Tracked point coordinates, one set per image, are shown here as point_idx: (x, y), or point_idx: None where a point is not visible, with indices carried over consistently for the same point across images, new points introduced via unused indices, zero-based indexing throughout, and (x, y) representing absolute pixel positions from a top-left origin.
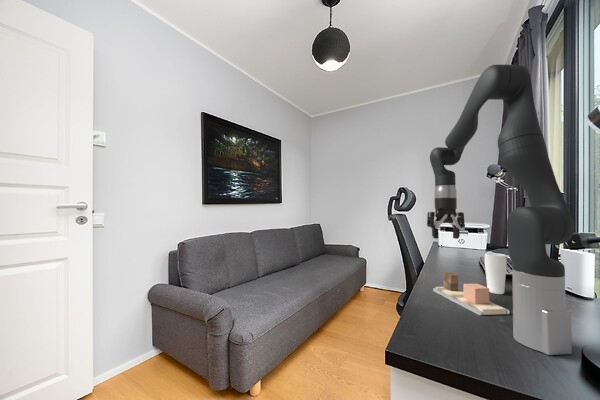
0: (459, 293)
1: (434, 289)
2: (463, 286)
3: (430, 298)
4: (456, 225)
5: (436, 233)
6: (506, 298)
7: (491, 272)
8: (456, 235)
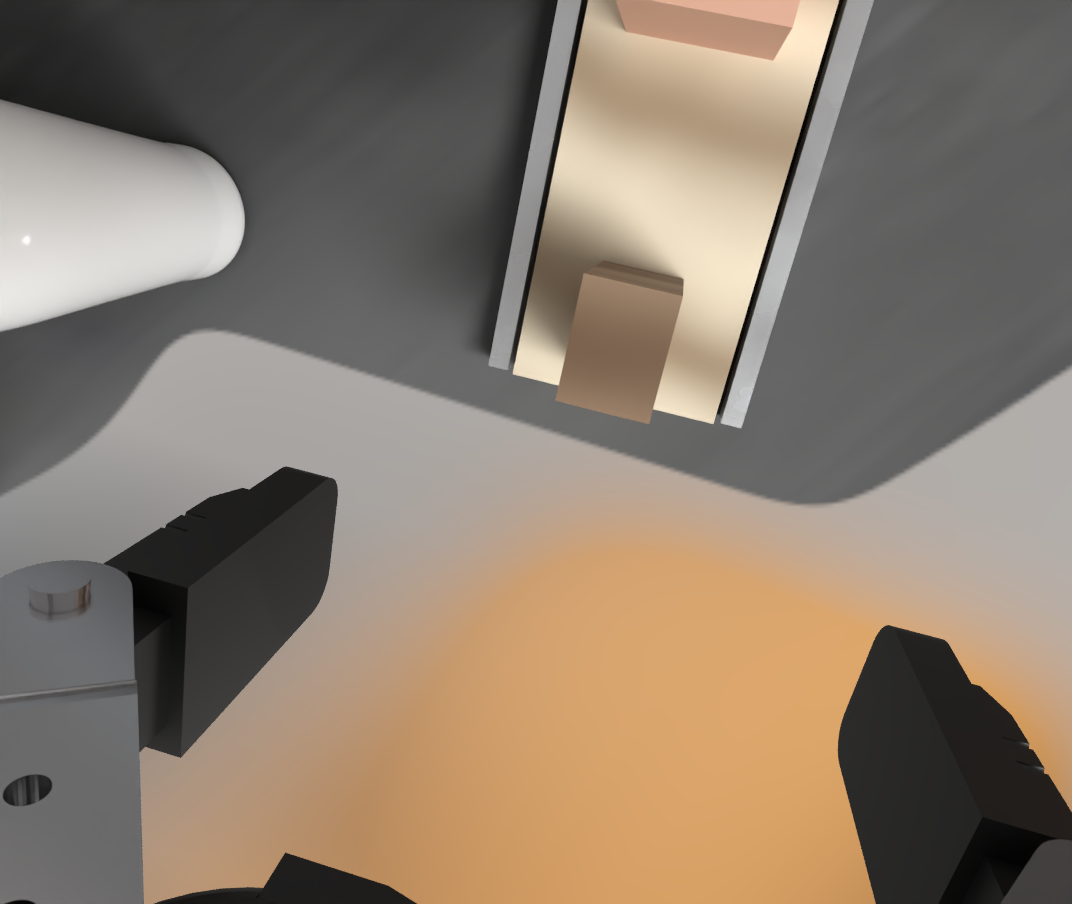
0: (667, 193)
1: (747, 407)
2: (786, 35)
3: (970, 267)
4: (106, 674)
5: (982, 734)
6: (244, 59)
7: (123, 194)
8: (299, 521)
